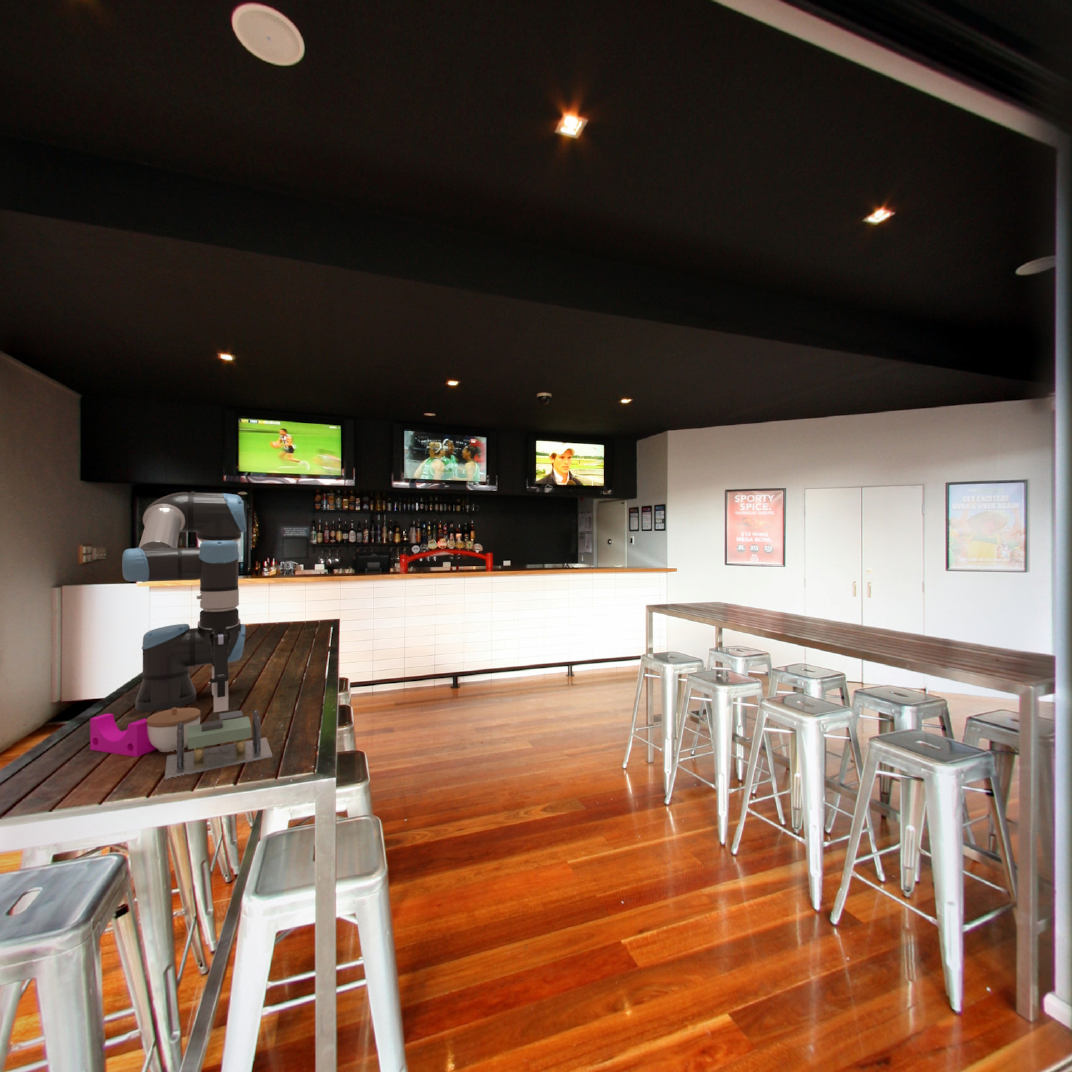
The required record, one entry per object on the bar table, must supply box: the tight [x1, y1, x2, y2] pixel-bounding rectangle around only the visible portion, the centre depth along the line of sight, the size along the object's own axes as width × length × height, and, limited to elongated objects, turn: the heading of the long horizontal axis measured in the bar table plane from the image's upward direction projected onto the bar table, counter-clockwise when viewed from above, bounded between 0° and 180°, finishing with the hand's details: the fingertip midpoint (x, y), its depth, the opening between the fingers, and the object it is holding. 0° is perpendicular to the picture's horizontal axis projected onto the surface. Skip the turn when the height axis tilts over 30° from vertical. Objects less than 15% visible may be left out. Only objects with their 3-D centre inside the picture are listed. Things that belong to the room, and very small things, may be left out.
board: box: [187, 716, 253, 750], centre depth 119 cm, size 8×12×4 cm, turn 123°
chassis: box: [164, 709, 273, 780], centre depth 119 cm, size 12×20×9 cm, turn 123°
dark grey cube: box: [218, 710, 244, 721], centre depth 134 cm, size 5×5×5 cm
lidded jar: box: [145, 707, 201, 753], centre depth 126 cm, size 11×11×9 cm
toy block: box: [89, 713, 158, 758], centre depth 125 cm, size 15×6×8 cm, turn 73°
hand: (219, 701), depth 120 cm, fingers open, 13 cm apart
